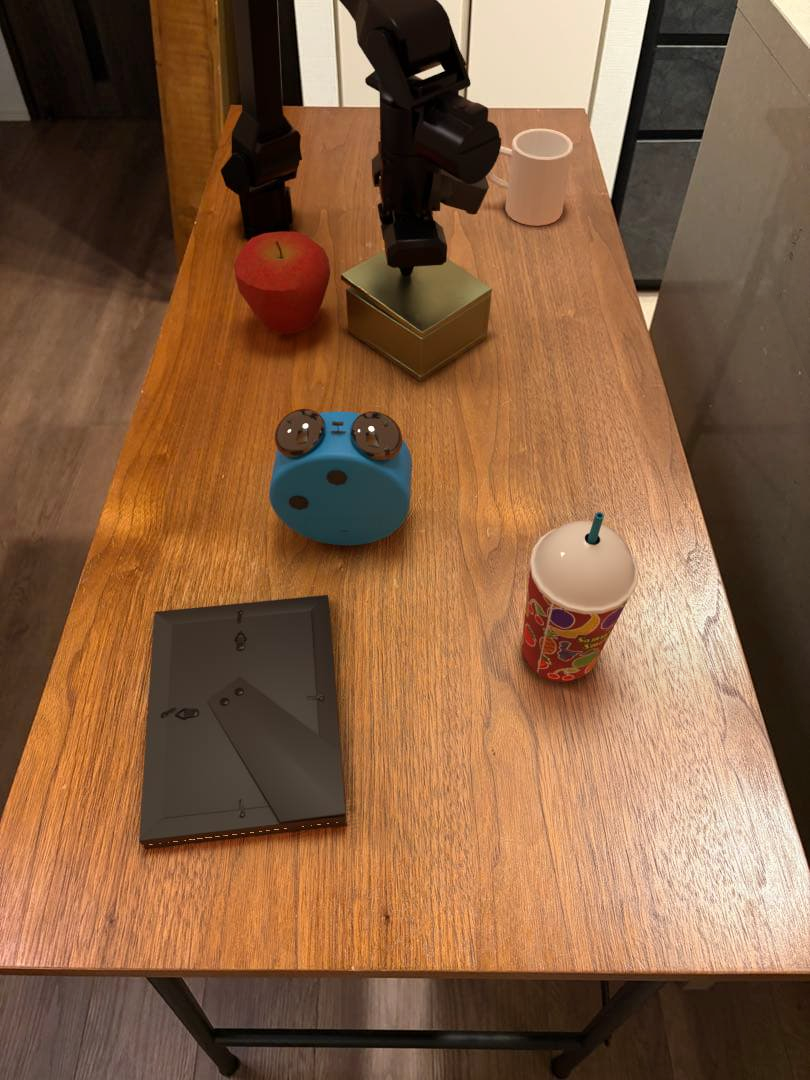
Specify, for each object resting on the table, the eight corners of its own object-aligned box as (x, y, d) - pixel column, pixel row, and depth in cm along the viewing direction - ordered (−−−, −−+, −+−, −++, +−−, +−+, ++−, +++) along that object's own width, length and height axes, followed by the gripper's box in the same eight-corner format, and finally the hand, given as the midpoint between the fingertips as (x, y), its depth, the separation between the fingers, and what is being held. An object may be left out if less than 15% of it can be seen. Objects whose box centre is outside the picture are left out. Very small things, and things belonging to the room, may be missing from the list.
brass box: (348, 332, 104) (345, 288, 99) (414, 291, 109) (415, 248, 104) (420, 381, 99) (422, 338, 94) (487, 337, 104) (491, 294, 99)
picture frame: (347, 825, 67) (329, 606, 80) (345, 813, 65) (327, 590, 77) (145, 849, 66) (159, 623, 78) (136, 837, 63) (152, 606, 76)
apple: (278, 368, 100) (266, 281, 90) (227, 324, 105) (210, 237, 95) (351, 329, 104) (347, 242, 95) (299, 289, 109) (289, 202, 100)
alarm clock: (411, 505, 87) (413, 397, 75) (408, 552, 83) (410, 447, 72) (284, 500, 87) (267, 391, 76) (276, 547, 84) (257, 441, 72)
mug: (478, 191, 124) (484, 124, 116) (561, 196, 123) (572, 129, 115) (476, 222, 119) (482, 154, 111) (562, 228, 118) (573, 160, 110)
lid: (340, 279, 99) (340, 273, 98) (410, 239, 104) (411, 234, 103) (421, 338, 94) (422, 332, 93) (491, 293, 99) (492, 288, 98)
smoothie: (579, 713, 73) (630, 581, 57) (494, 667, 76) (521, 529, 60) (618, 642, 77) (675, 501, 62) (536, 601, 80) (571, 456, 64)
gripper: (502, 187, 81) (488, 319, 94) (471, 95, 93) (462, 224, 105) (387, 193, 80) (388, 326, 93) (369, 100, 92) (372, 229, 104)
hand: (406, 273), depth 99 cm, fingers closed, pressing on lid
